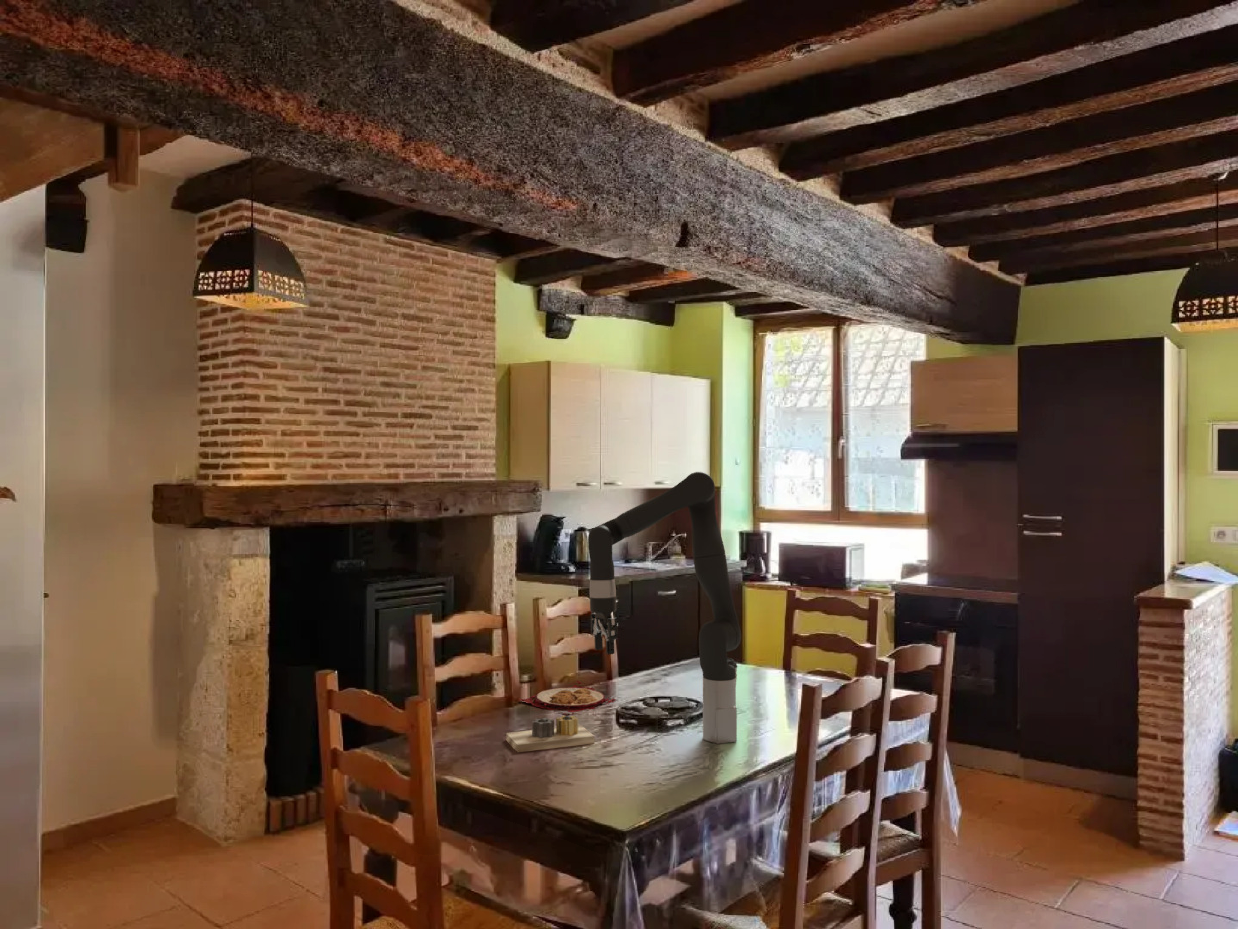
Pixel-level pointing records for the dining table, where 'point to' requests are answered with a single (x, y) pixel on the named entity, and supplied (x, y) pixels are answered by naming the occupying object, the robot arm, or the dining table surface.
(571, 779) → the dining table surface
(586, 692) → the plate with food
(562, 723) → the brass gear
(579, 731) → the gear board
